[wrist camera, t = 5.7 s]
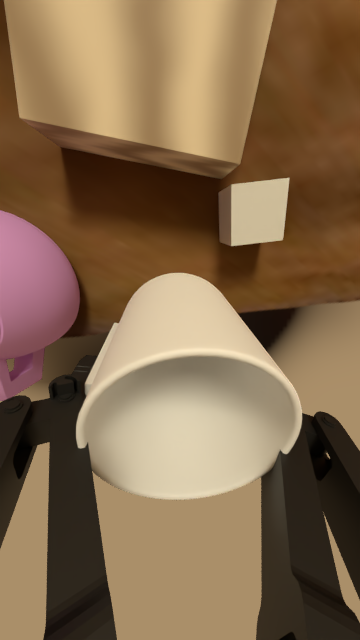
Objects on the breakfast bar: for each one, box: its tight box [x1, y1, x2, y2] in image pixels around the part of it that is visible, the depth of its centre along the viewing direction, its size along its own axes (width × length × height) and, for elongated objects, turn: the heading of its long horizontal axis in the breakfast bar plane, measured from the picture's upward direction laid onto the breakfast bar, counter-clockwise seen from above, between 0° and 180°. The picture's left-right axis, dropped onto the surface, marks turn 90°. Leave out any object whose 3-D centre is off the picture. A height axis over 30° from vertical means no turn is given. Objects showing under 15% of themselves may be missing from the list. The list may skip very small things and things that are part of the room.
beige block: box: [218, 178, 289, 246], centre depth 21 cm, size 5×5×5 cm
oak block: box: [4, 0, 277, 179], centre depth 14 cm, size 16×16×6 cm
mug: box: [76, 273, 302, 500], centre depth 13 cm, size 12×8×10 cm
